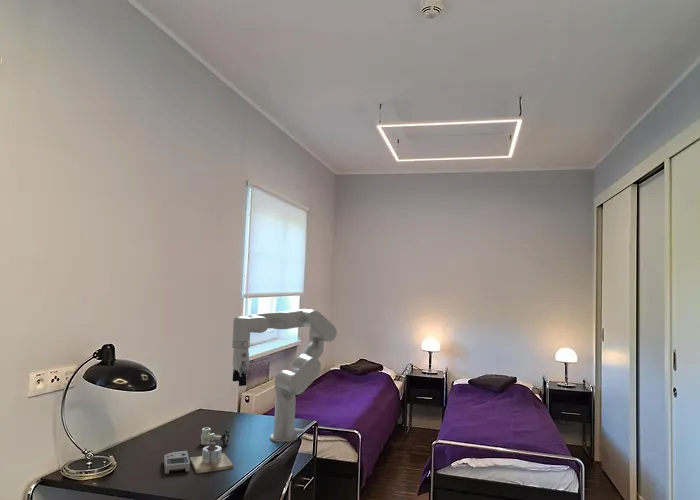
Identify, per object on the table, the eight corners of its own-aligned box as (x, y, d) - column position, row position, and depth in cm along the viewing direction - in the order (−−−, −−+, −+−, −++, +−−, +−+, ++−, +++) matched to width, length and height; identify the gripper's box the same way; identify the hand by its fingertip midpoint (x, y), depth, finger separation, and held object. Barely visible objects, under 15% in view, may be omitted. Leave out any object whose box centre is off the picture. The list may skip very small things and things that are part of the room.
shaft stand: (224, 456, 203) (225, 436, 204) (232, 468, 191) (234, 446, 192) (189, 460, 197) (191, 439, 197) (196, 473, 184) (197, 451, 185)
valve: (197, 445, 215) (223, 448, 213) (198, 430, 215) (224, 432, 214) (204, 441, 221) (229, 443, 220) (204, 426, 222) (230, 428, 220)
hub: (218, 457, 199) (219, 444, 199) (222, 463, 193) (223, 450, 193) (200, 459, 196) (201, 446, 196) (204, 465, 189) (205, 452, 190)
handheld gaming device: (186, 459, 199) (187, 449, 199) (189, 473, 185) (190, 462, 186) (163, 461, 195) (164, 452, 196) (164, 476, 182) (165, 465, 182)
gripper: (255, 346, 211) (253, 386, 210) (243, 341, 226) (241, 378, 225) (238, 347, 208) (236, 388, 207) (227, 342, 223) (225, 380, 222)
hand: (239, 383), depth 216 cm, fingers open, 9 cm apart
